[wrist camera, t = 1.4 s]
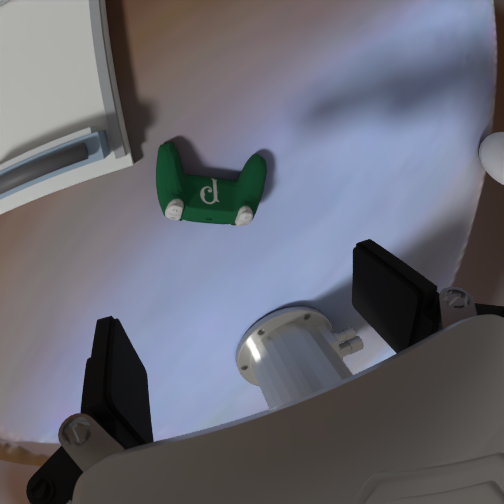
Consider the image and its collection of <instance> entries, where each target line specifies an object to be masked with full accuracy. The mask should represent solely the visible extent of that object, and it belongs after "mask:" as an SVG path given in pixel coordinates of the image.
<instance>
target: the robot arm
mask: <svg viewBox="0 0 504 504" xmlns="http://www.w3.org/2000/svg"><path fill="white" fill-rule="evenodd" d="M436 291H437V286H436V285H434V284H433V283H432V282H430V281H429V280H428V279H426V278H425V277H424V276H422V275H421V274H419V273H418V272H417V271H415V270H414V269H413V268H411V267H410V266H408V265H407V264H406V263H404V262H403V261H401V260H400V259H399V258H397V257H396V256H394V255H393V254H391V253H390V252H389V251H387V250H386V249H384V248H383V247H381V246H380V245H378V244H377V243H375V242H374V241H372V240H371V239H368V240H365V241H362V242H359V243H357V244H356V247H355V248H354V249H353V286H352V304H353V306H354V308H355V309H356V310H357V312H358V313H359V314H360V315H361V316H362V317H363V318H364V319H365V320H366V321H367V322H368V323H369V324H370V325H371V326H372V327H373V328H374V329H375V331H376V332H377V333H378V334H379V335H380V336H381V337H382V338H383V339H384V340H385V341H386V342H387V343H388V344H389V346H390V347H391V348H392V349H393V350H394V351H395V352H396V353H397V354H395V355H393V356H391V357H390V358H388V359H386V360H384V361H382V362H380V363H378V364H376V365H374V366H372V367H370V368H367V369H365V370H363V371H361V372H359V373H357V374H355V375H353V374H352V372H351V371H350V370H349V368H348V367H347V366H346V364H345V363H344V362H343V357H344V356H346V355H349V354H352V353H355V352H357V351H359V350H361V349H363V342H362V339H361V338H360V337H359V336H356V333H355V330H354V328H353V327H349V328H347V329H345V330H342V331H341V332H339V333H336V332H333V328H332V325H331V323H330V321H329V320H328V319H327V318H326V316H325V315H324V314H322V313H321V312H320V311H318V310H316V309H313V308H309V307H290V308H285V309H282V310H279V311H275V312H273V313H271V314H269V315H267V316H265V317H264V318H262V319H261V320H259V321H258V322H257V323H255V324H254V325H253V326H252V327H251V328H250V329H249V330H248V331H247V332H246V334H245V335H244V336H243V337H242V339H241V341H240V343H239V345H238V348H237V351H236V364H237V367H238V370H239V372H240V374H241V375H242V377H243V378H244V379H245V380H246V381H248V382H249V383H251V384H254V385H256V386H260V388H261V391H262V393H263V395H264V397H265V400H266V402H267V404H268V407H269V409H268V410H266V411H263V412H260V413H257V414H254V415H251V416H248V417H244V418H241V419H238V420H235V421H232V422H228V423H225V424H221V425H218V426H214V427H211V428H207V429H203V430H200V431H196V432H192V433H189V434H185V435H181V436H177V437H173V438H168V439H164V440H160V441H156V442H154V441H153V433H152V424H151V415H150V404H149V393H148V380H147V373H146V370H145V367H144V366H143V364H142V362H141V360H140V358H139V357H138V355H137V353H136V351H135V349H134V348H133V346H132V344H131V342H130V340H129V338H128V336H127V334H126V332H125V330H124V328H123V327H122V325H121V323H120V321H119V319H114V318H113V317H112V316H109V317H106V318H102V319H98V320H97V323H96V329H95V335H94V341H93V347H92V354H91V358H88V359H87V363H86V369H85V377H84V385H83V393H82V403H81V413H78V414H74V415H71V416H70V417H68V418H67V419H66V420H65V421H64V422H63V423H62V425H61V427H60V429H59V433H58V437H59V441H60V443H61V445H62V446H61V447H60V448H59V449H58V450H57V451H56V452H55V453H54V454H53V455H52V456H51V457H50V458H49V459H48V460H47V461H46V462H45V464H44V465H43V466H42V467H41V468H40V469H39V470H38V471H37V472H36V473H35V474H34V475H33V476H32V477H31V479H30V480H29V482H28V485H27V490H26V492H27V497H28V499H29V503H28V504H504V307H503V306H494V305H485V304H476V303H474V300H473V298H472V295H471V294H470V293H469V292H467V291H466V290H464V289H461V288H457V287H448V288H445V289H443V290H442V291H441V292H440V294H439V293H438V292H436ZM343 341H345V342H343ZM340 342H343V343H341V344H340Z"/></svg>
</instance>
